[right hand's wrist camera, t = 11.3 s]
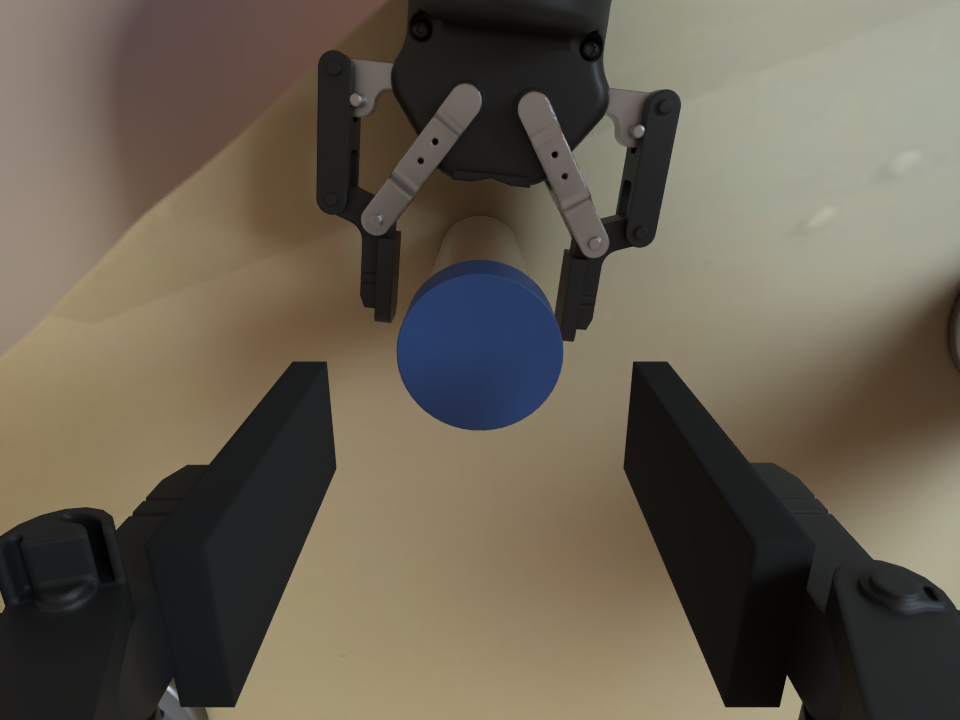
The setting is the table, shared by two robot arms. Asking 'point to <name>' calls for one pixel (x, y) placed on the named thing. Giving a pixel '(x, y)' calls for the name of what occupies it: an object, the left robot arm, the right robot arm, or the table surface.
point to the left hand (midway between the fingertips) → (475, 326)
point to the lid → (480, 346)
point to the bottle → (479, 244)
